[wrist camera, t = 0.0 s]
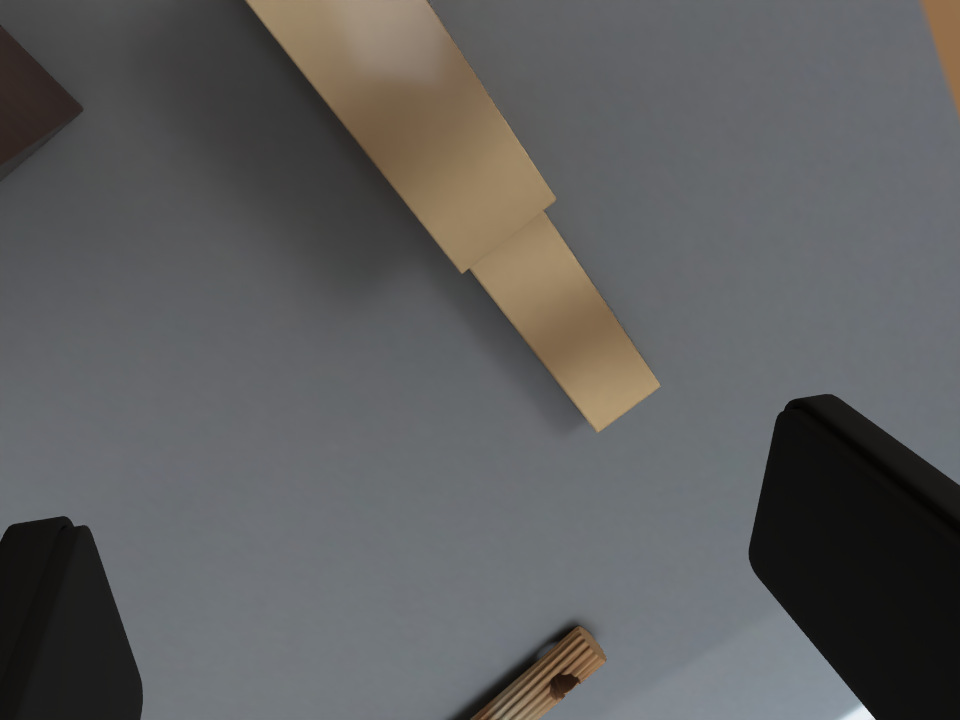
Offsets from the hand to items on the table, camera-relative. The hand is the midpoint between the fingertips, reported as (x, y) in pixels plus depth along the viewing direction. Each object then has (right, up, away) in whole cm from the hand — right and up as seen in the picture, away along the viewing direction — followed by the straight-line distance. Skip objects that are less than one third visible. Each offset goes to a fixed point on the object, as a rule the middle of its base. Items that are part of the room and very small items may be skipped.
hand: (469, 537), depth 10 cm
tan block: (0, +7, +12) cm, 14 cm away
